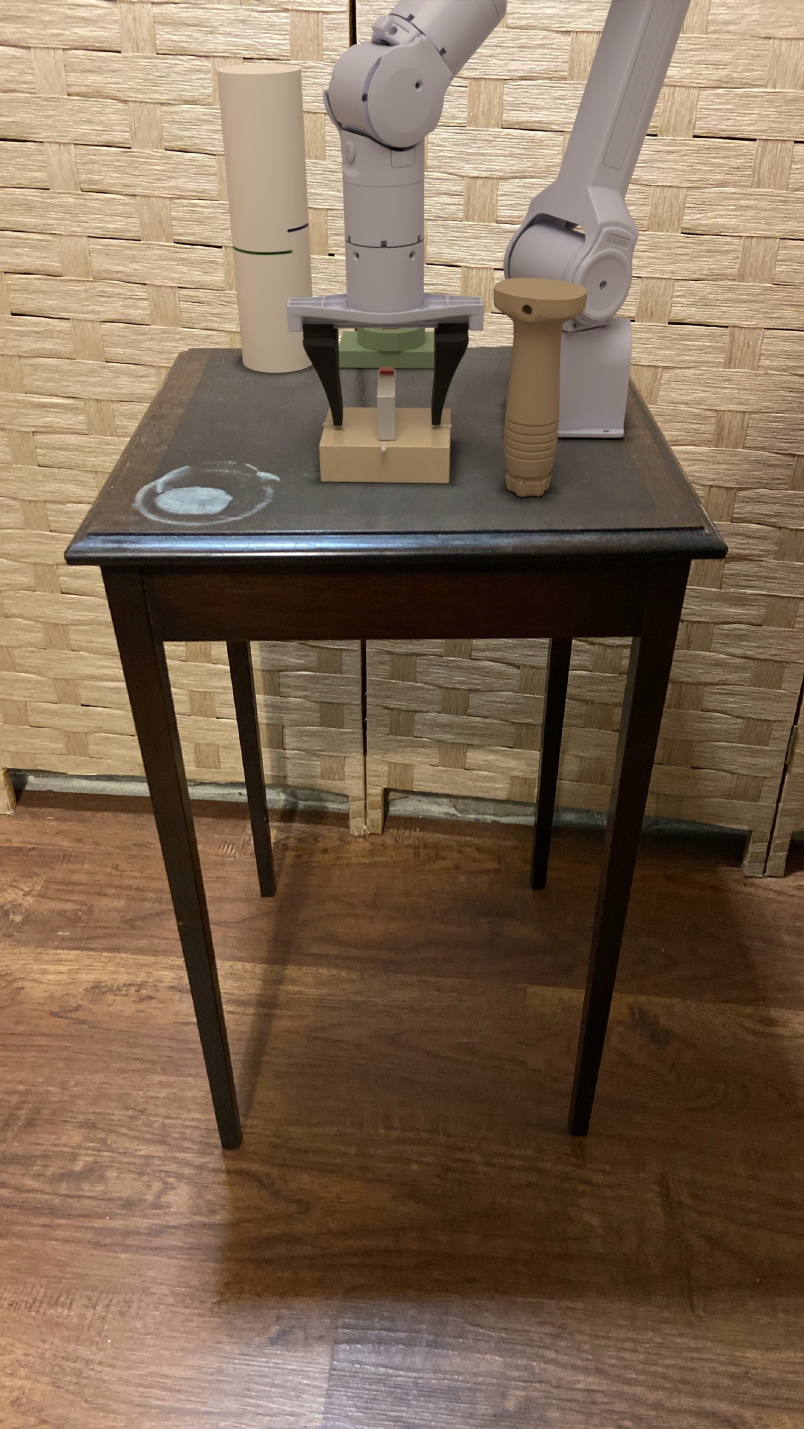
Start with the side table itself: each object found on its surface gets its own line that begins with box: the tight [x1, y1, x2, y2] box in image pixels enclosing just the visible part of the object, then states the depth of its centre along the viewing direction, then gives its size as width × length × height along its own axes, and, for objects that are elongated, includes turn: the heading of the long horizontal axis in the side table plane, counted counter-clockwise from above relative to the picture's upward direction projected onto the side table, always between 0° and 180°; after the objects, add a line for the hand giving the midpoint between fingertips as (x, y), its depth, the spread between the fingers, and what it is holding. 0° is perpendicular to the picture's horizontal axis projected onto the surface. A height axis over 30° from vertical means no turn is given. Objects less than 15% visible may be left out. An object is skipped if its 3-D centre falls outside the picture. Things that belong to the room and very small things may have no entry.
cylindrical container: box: [216, 63, 314, 374], centre depth 103 cm, size 7×7×25 cm
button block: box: [339, 328, 434, 370], centre depth 110 cm, size 10×6×4 cm, turn 87°
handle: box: [492, 278, 587, 498], centre depth 82 cm, size 5×6×15 cm
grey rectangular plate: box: [376, 367, 397, 440], centre depth 88 cm, size 6×1×4 cm, turn 0°
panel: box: [318, 406, 453, 484], centre depth 90 cm, size 10×10×3 cm
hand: (387, 420), depth 89 cm, fingers open, 7 cm apart
